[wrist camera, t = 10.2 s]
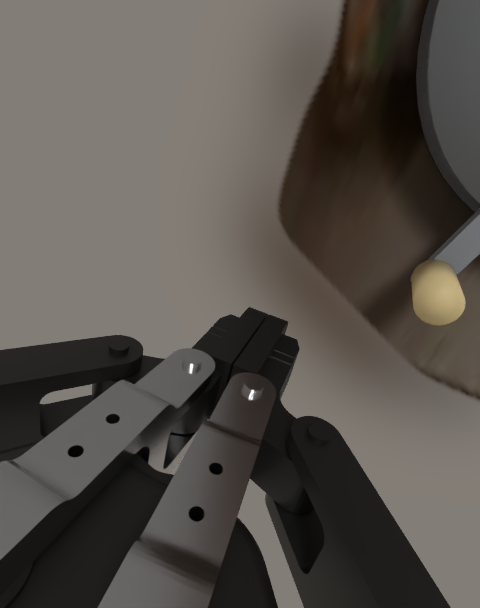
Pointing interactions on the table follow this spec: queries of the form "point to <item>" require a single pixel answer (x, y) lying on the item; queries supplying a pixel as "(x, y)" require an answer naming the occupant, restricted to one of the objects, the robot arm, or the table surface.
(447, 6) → the turntable
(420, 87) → the turntable base
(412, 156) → the table surface
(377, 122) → the table surface
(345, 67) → the table surface
